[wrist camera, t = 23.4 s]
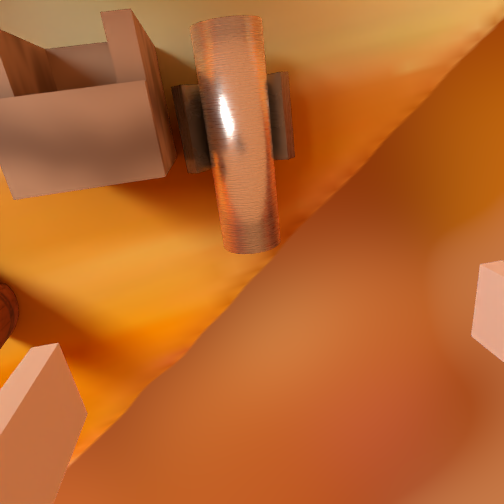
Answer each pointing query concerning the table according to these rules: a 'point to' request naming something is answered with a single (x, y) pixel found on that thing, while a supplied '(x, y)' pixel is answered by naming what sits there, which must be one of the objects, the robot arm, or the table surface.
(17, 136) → the brown open box
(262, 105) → the axle
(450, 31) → the table surface
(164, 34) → the table surface
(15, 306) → the wooden figurine
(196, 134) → the v block
